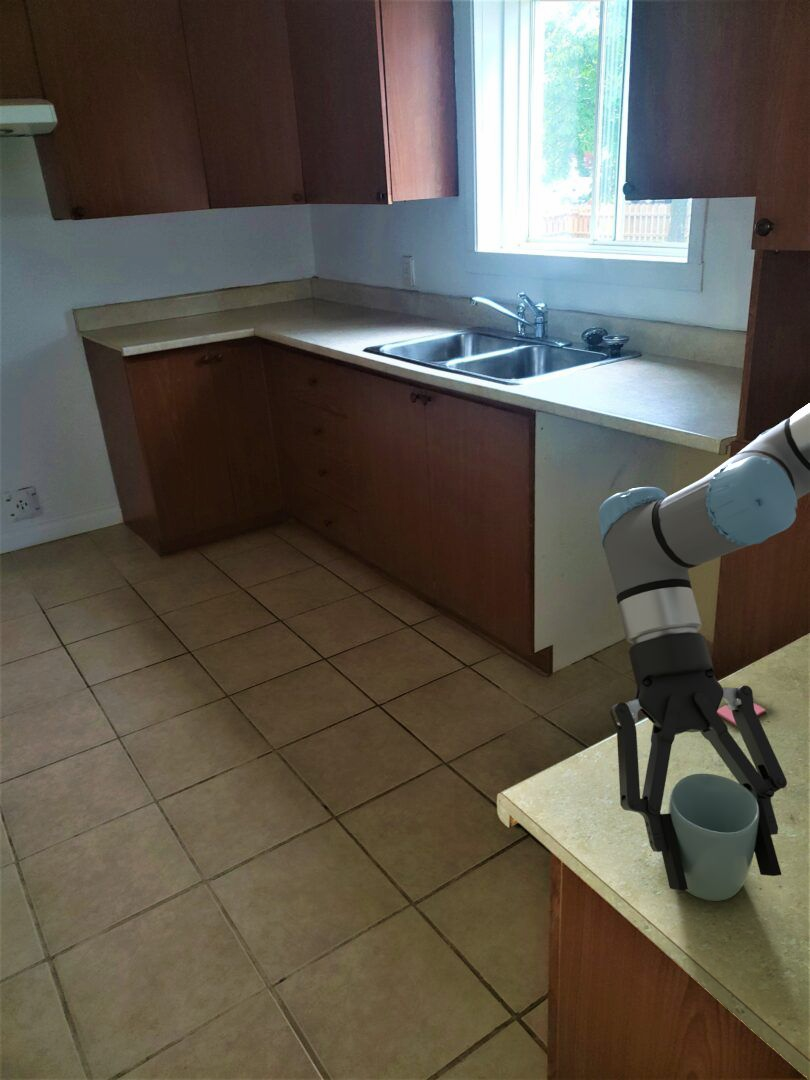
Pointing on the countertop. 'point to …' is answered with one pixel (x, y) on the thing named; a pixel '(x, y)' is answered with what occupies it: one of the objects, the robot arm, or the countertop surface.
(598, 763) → the countertop surface
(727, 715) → the eraser
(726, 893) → the cup
